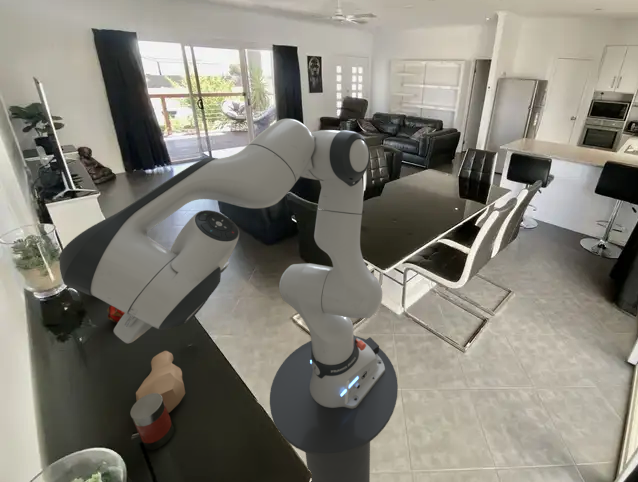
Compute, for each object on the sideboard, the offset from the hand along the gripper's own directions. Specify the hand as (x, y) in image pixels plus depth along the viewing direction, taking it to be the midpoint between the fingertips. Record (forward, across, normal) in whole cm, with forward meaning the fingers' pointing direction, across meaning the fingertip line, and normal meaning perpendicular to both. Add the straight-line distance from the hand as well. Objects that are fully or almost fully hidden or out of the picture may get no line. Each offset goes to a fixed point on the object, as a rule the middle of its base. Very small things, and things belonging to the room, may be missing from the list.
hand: (162, 313), depth 65 cm
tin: (+32, -4, -17) cm, 36 cm away
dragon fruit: (+59, +22, +17) cm, 65 cm away
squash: (+38, +5, -10) cm, 40 cm away
